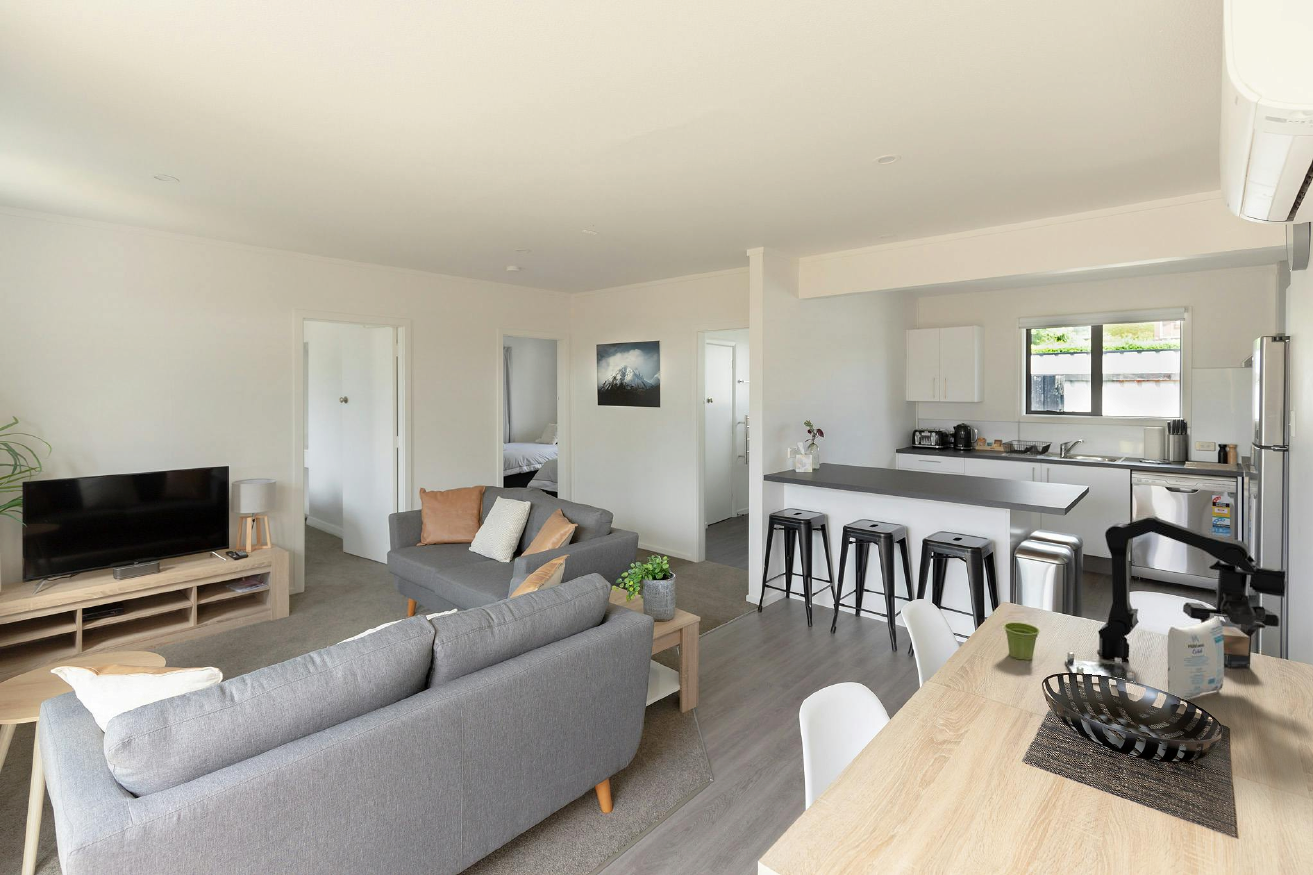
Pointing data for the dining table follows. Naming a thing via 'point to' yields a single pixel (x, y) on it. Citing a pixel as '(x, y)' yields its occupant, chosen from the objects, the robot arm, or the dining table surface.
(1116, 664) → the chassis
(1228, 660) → the small box
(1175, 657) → the pouch
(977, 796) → the dining table surface
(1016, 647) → the plant pot
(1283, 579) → the robot arm
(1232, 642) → the brown block
